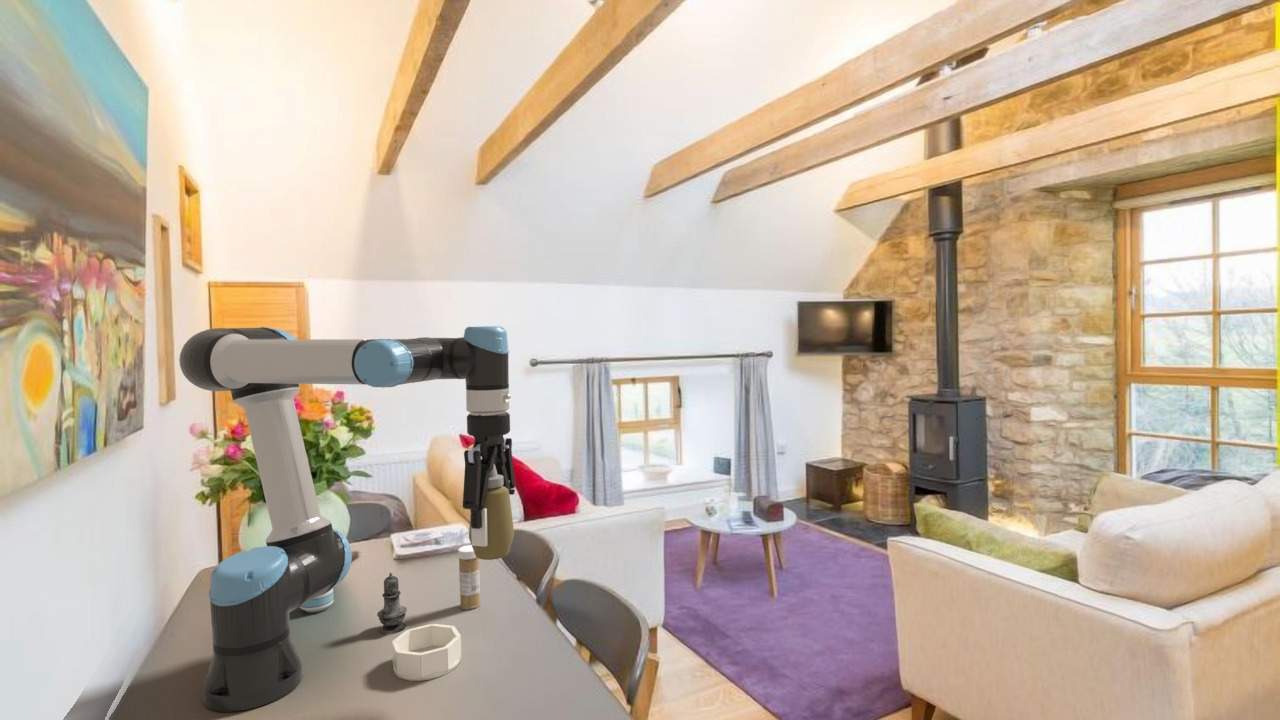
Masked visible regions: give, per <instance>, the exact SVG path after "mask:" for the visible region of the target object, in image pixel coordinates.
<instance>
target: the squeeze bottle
mask: <svg viewBox="0 0 1280 720" xmlns="http://www.w3.org/2000/svg"><path fill="white" fill-rule="evenodd" d="M503 485H504V480H503V475H499V474H497V471H496V466H495V463H494V466H493V470H492V471H490V474H489V480H488V486H487V492H486V498H485V504H484V508H487V533H488V545H487V546H486V547H484V546H472V548H473V550H474V553H475V556H476V557H477V558H478V560H479V559H480V560H485V561H491V560H499V559H501V558H502V559H503V558H505V557H507V556H508V555H509V554H510V551H511V547H512V543H513V541H514V537H515V528H514V521H513V512H512V505H511V497H510V496H511V495H509V490H508V488H506V487H504V486H503ZM469 516H470V517H469V518H470V519H469V531H468V532H469V533H468V540H469V541H470V542H469V543H470V545H472V539H471V515H469Z"/></svg>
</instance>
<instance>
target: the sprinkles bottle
mask: <svg viewBox="0 0 1280 720" xmlns="http://www.w3.org/2000/svg"><path fill="white" fill-rule="evenodd" d="M457 556H458V557H457V558H458V564H459V565H458V566H459V569H458V570H459V574H458V575H459V577H458V578H459V599H460V600H459V601H460V604H459V606H460V608H461V609H463V610H473V609H477V608H478V607H479V606H481V600H480V594H481V593H480V592H481V587H480V586H481V585H480V568H479V558H477V557H476V556H475V553H474V550H473V548H472V545H471V544H469V545H464V546H461V547H459V548H458V550H457Z"/></svg>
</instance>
